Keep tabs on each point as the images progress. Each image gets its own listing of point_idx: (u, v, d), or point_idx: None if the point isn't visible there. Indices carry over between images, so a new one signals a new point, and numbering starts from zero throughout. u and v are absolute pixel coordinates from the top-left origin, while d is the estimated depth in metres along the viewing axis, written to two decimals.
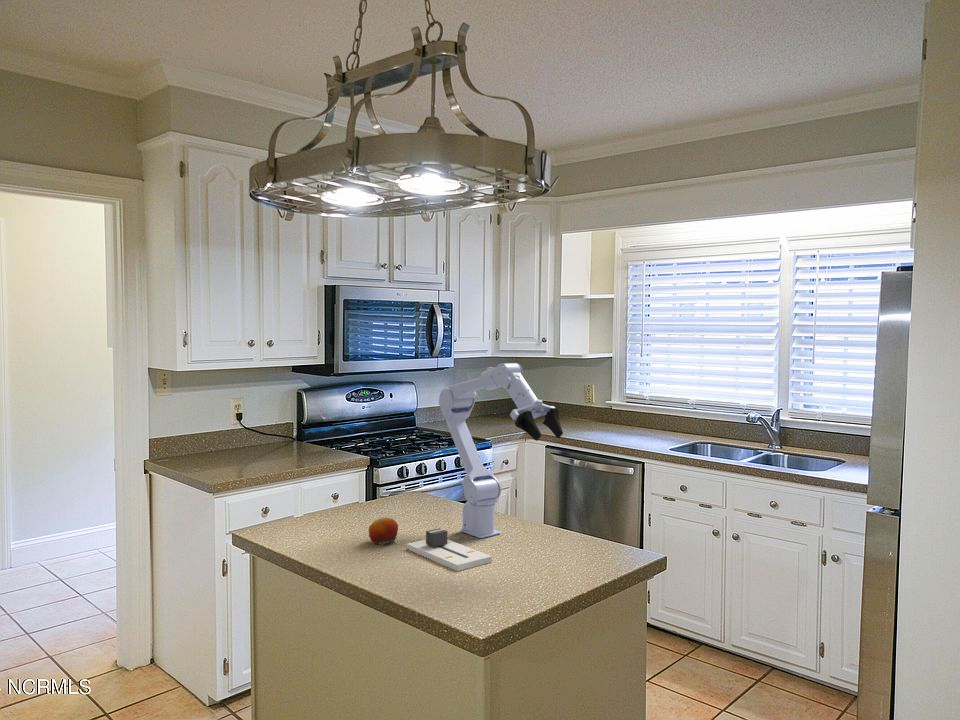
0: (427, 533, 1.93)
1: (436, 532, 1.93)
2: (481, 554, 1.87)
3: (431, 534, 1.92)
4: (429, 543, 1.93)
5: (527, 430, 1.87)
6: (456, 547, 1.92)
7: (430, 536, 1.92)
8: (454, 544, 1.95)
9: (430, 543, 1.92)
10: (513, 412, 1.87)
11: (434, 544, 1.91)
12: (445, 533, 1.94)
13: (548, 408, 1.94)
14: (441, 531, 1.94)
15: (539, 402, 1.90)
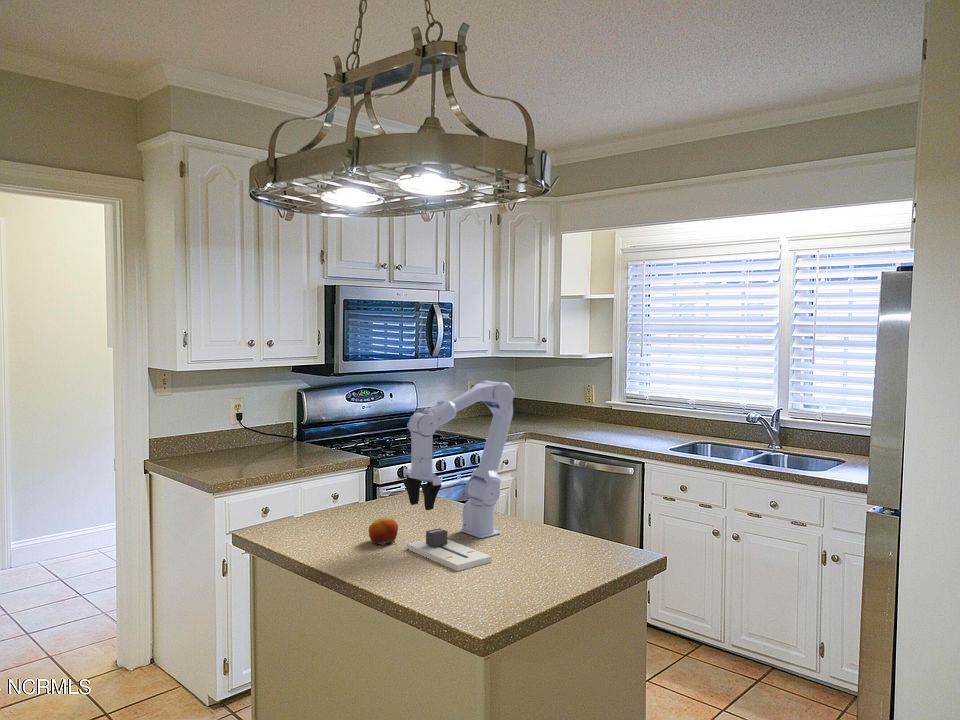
0: (427, 533, 1.93)
1: (436, 532, 1.93)
2: (481, 554, 1.87)
3: (431, 534, 1.92)
4: (429, 543, 1.93)
5: None
6: (456, 547, 1.92)
7: (430, 536, 1.92)
8: (454, 544, 1.95)
9: (430, 543, 1.92)
10: None
11: (434, 544, 1.91)
12: (445, 533, 1.94)
13: (428, 479, 1.94)
14: (441, 531, 1.94)
15: None
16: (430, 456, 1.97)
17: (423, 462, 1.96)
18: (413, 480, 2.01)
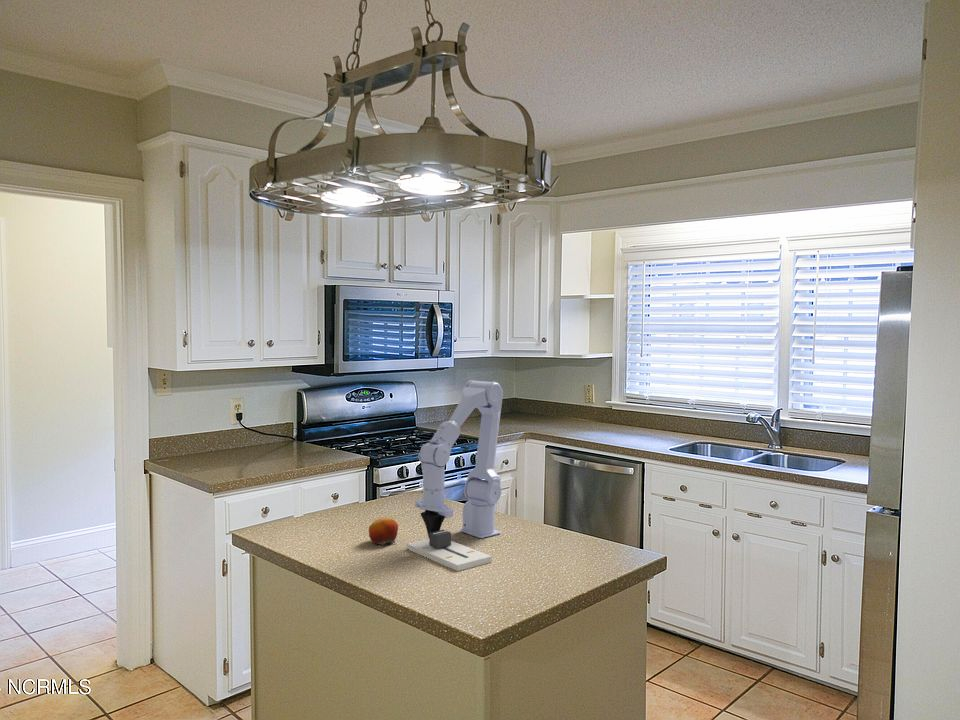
0: (431, 534, 1.92)
1: (440, 533, 1.91)
2: (481, 554, 1.87)
3: (435, 535, 1.91)
4: (433, 544, 1.92)
5: None
6: (456, 547, 1.92)
7: (434, 537, 1.91)
8: (454, 544, 1.95)
9: (434, 544, 1.91)
10: None
11: (438, 545, 1.90)
12: (449, 534, 1.92)
13: None
14: (445, 532, 1.92)
15: None
16: (443, 487, 1.94)
17: (435, 493, 1.92)
18: None
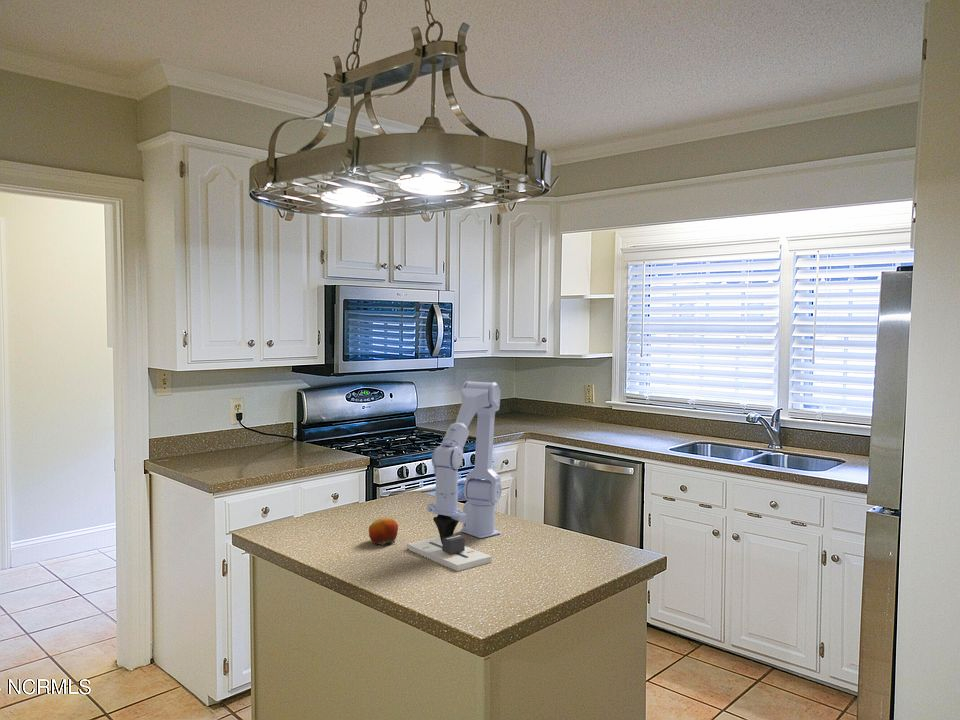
0: (444, 539, 1.88)
1: (453, 538, 1.87)
2: (481, 554, 1.87)
3: (448, 541, 1.86)
4: (446, 550, 1.87)
5: None
6: None
7: (447, 543, 1.87)
8: None
9: (447, 550, 1.87)
10: None
11: (451, 551, 1.86)
12: (462, 539, 1.88)
13: None
14: (458, 537, 1.88)
15: None
16: (457, 490, 1.90)
17: (448, 498, 1.87)
18: None
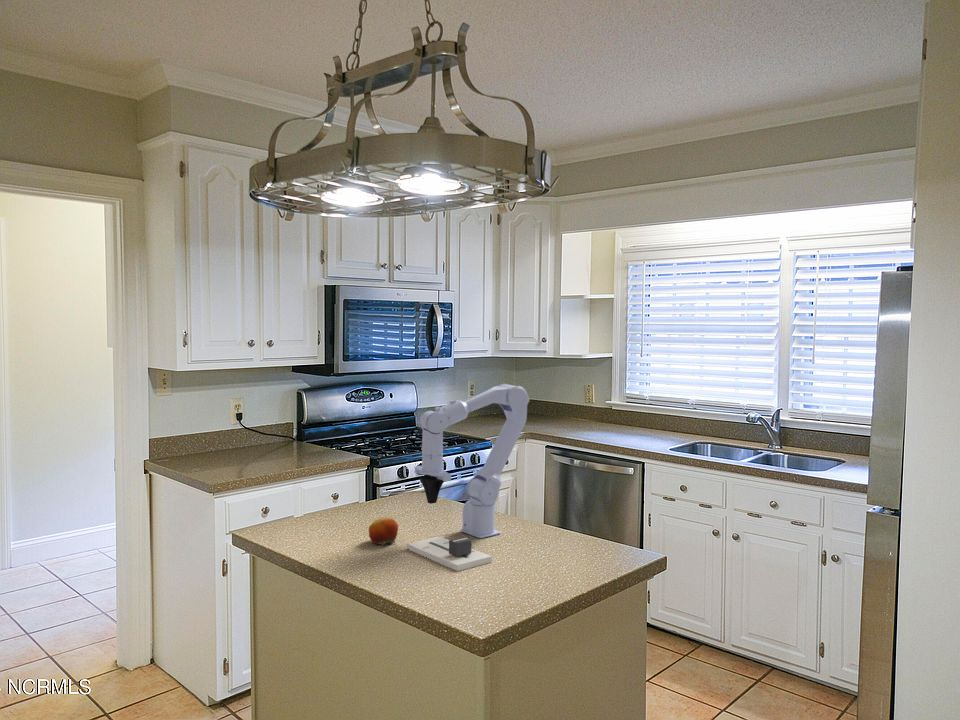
0: (450, 542, 1.86)
1: (460, 541, 1.85)
2: (481, 554, 1.87)
3: (455, 543, 1.84)
4: (452, 552, 1.85)
5: None
6: None
7: (454, 545, 1.84)
8: None
9: (453, 552, 1.85)
10: None
11: (458, 554, 1.84)
12: (469, 542, 1.86)
13: (438, 476, 1.99)
14: (465, 540, 1.86)
15: (421, 473, 2.01)
16: (439, 453, 2.01)
17: (434, 459, 2.00)
18: None
